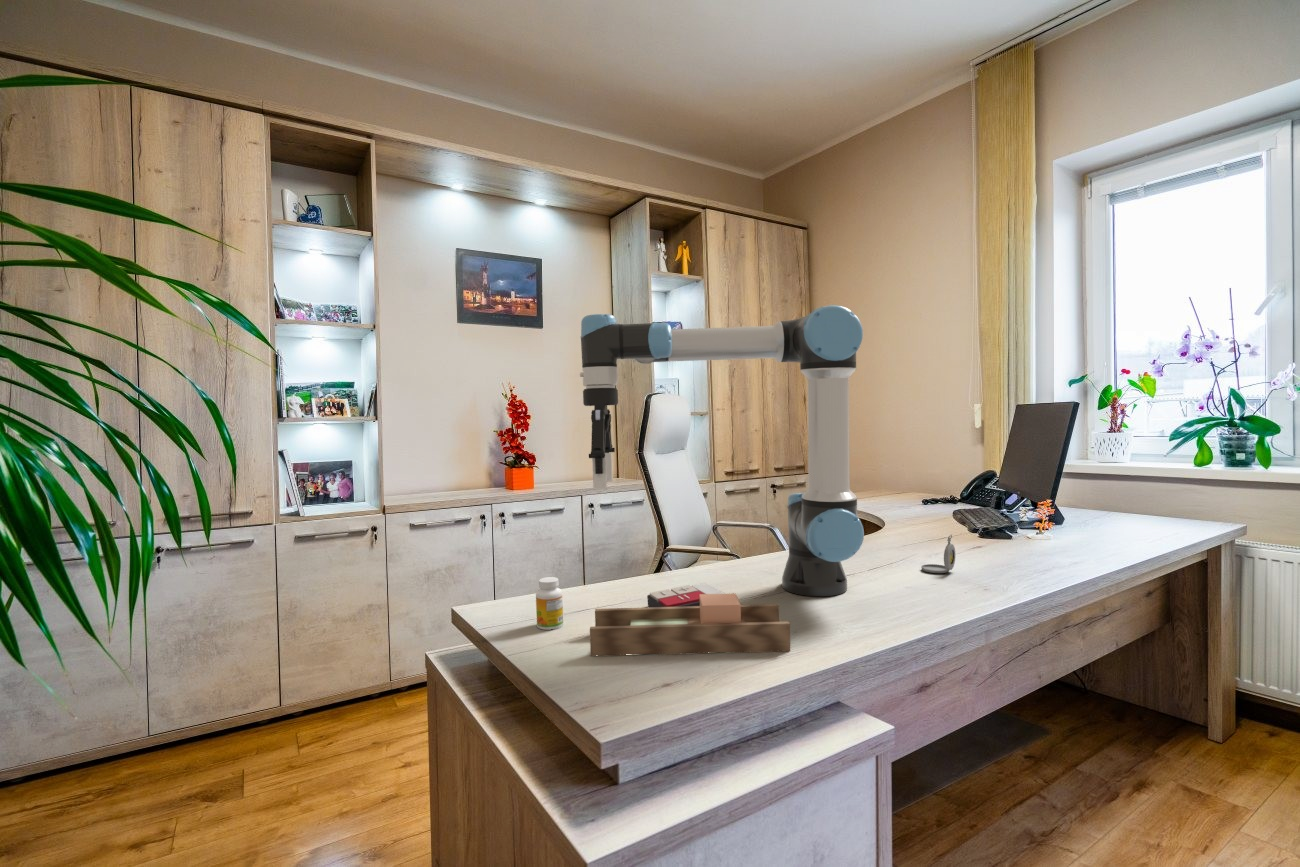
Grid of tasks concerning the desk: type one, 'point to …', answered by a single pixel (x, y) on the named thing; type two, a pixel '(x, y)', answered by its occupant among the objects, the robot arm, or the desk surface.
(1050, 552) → the desk surface
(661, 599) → the calculator
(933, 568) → the pocket watch
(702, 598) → the block
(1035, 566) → the desk surface
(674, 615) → the trap channel
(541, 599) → the supplement bottle
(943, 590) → the desk surface
